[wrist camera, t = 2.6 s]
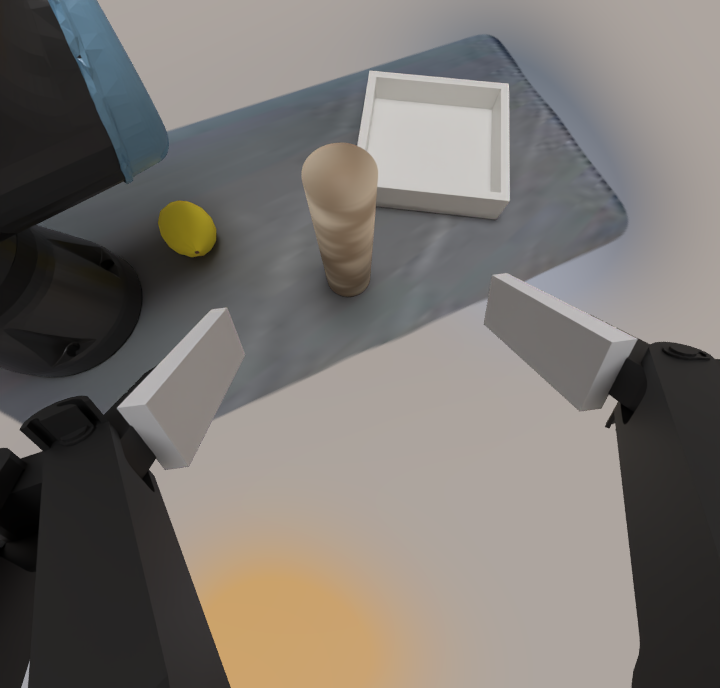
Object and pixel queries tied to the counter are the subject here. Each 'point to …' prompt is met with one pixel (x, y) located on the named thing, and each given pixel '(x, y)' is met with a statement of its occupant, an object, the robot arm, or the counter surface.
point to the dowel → (343, 212)
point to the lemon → (187, 228)
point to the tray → (438, 143)
